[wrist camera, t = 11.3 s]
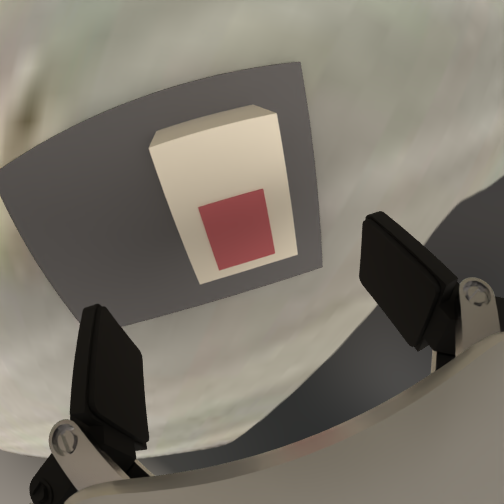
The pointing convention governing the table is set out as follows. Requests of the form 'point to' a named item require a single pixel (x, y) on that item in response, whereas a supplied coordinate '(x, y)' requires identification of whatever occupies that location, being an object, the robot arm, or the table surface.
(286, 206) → the card box
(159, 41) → the table surface
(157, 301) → the mat
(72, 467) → the robot arm
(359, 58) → the table surface
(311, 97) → the table surface
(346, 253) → the table surface
